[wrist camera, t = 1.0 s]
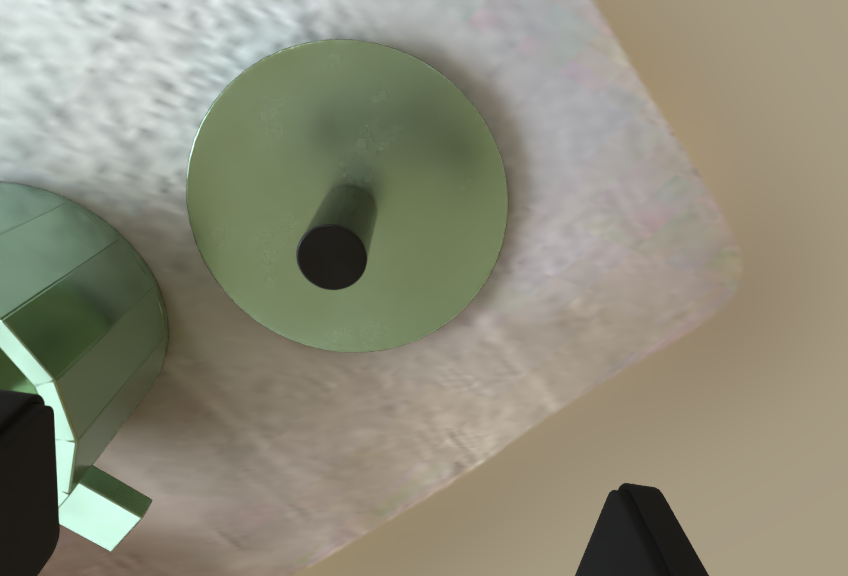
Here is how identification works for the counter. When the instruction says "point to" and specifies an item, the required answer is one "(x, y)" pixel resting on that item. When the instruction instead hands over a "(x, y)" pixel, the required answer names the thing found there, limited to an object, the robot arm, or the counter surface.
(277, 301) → the lid
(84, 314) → the pot
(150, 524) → the counter surface
